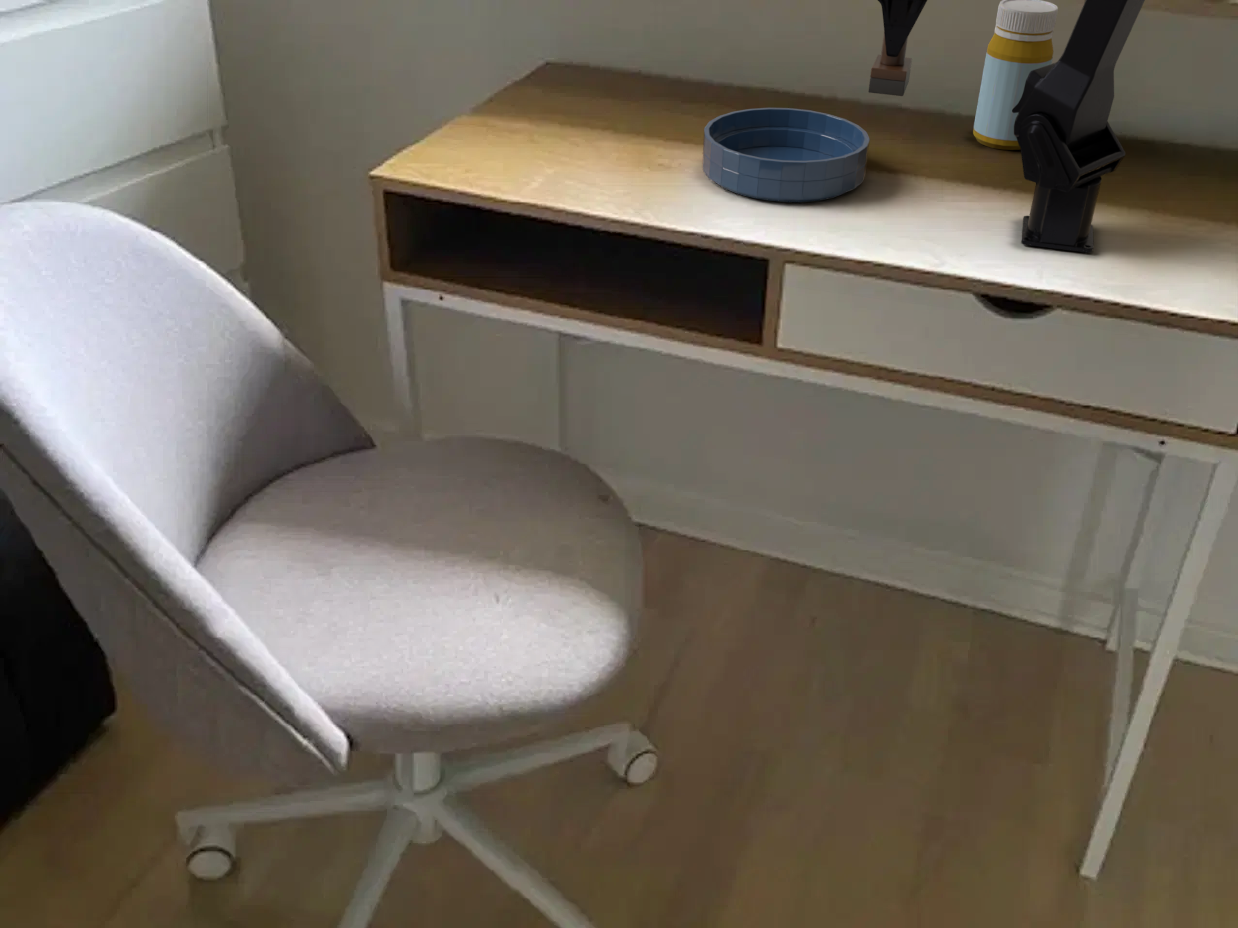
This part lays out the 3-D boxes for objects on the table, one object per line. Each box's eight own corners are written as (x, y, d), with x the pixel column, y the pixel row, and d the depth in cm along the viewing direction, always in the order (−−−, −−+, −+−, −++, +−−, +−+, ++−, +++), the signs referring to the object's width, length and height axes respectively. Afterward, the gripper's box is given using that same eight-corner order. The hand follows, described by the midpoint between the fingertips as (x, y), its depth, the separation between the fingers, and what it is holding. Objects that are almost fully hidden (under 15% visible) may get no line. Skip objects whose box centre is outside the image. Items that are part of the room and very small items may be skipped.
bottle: (1029, 132, 150) (1055, -1, 142) (1039, 153, 144) (1067, 15, 136) (968, 129, 151) (991, -4, 143) (976, 150, 145) (1000, 12, 137)
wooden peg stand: (903, 96, 130) (917, -2, 125) (868, 92, 131) (880, -5, 126) (908, 82, 134) (922, -13, 129) (874, 78, 135) (887, -16, 130)
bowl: (852, 214, 128) (857, 170, 126) (685, 193, 132) (687, 151, 130) (873, 158, 142) (878, 117, 140) (721, 140, 146) (723, 101, 144)
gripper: (846, -136, 131) (828, 22, 140) (814, -105, 116) (797, 69, 125) (958, -128, 129) (933, 32, 137) (941, -95, 114) (914, 82, 122)
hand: (893, 52), depth 130 cm, fingers closed on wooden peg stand, 2 cm apart
